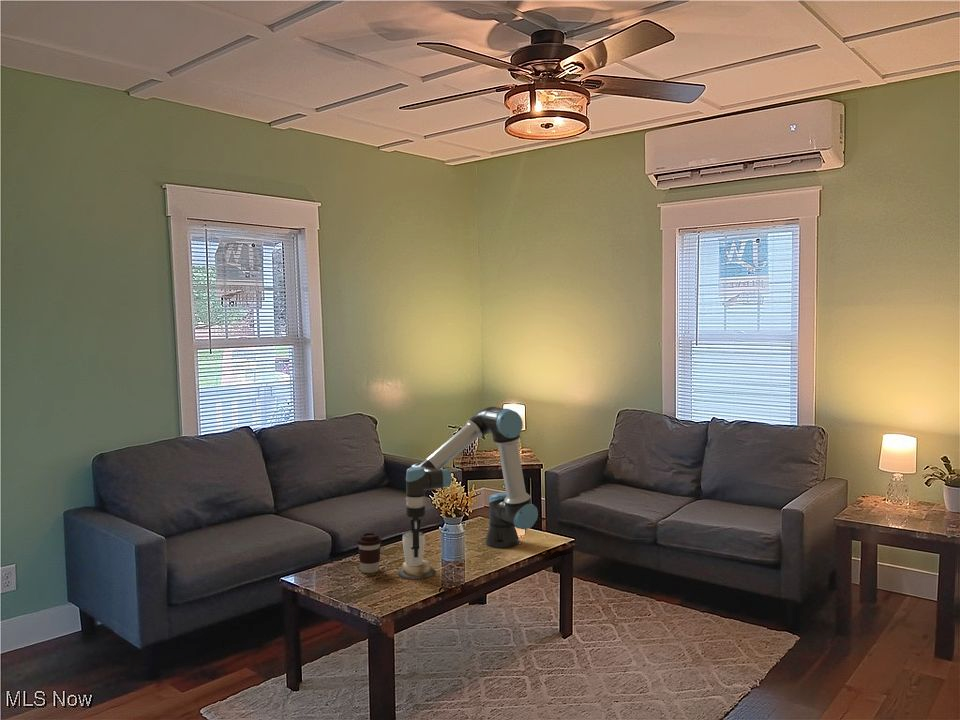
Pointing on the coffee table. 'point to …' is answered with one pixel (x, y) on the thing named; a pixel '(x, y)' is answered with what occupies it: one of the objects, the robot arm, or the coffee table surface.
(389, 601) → the coffee table surface
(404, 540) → the cup
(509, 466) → the robot arm
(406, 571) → the pedestal
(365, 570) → the coffee cup
